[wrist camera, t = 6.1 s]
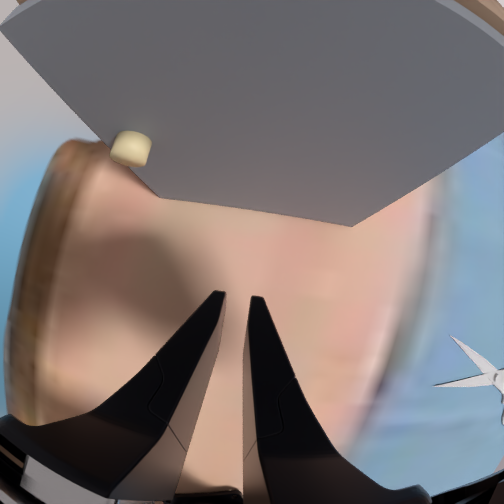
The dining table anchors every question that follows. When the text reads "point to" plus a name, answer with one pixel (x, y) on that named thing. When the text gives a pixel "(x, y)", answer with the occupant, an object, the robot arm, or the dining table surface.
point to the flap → (274, 94)
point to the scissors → (490, 377)
